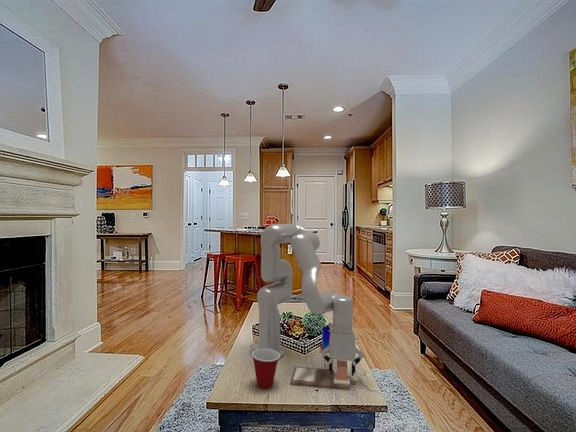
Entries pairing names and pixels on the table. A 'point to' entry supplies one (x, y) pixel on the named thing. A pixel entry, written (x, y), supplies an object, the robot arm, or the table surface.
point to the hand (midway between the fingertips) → (341, 373)
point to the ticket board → (315, 378)
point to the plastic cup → (265, 366)
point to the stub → (341, 373)
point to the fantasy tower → (326, 337)
